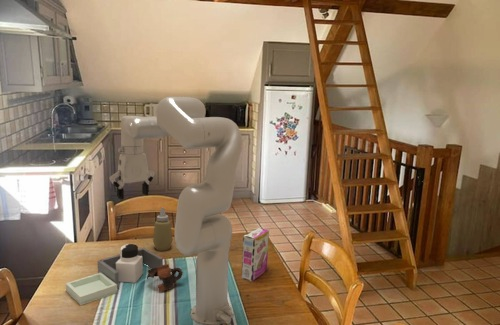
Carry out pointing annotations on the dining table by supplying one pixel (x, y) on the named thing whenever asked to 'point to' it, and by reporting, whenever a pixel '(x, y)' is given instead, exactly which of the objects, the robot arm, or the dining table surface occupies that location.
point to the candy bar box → (255, 254)
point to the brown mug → (165, 276)
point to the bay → (109, 264)
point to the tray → (91, 288)
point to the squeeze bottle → (162, 232)
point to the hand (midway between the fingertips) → (133, 196)
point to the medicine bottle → (129, 264)
